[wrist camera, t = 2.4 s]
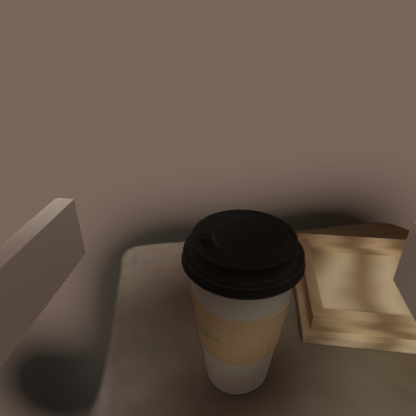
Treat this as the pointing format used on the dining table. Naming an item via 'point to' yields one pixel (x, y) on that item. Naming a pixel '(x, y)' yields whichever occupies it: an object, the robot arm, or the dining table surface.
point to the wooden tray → (353, 294)
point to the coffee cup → (241, 292)
